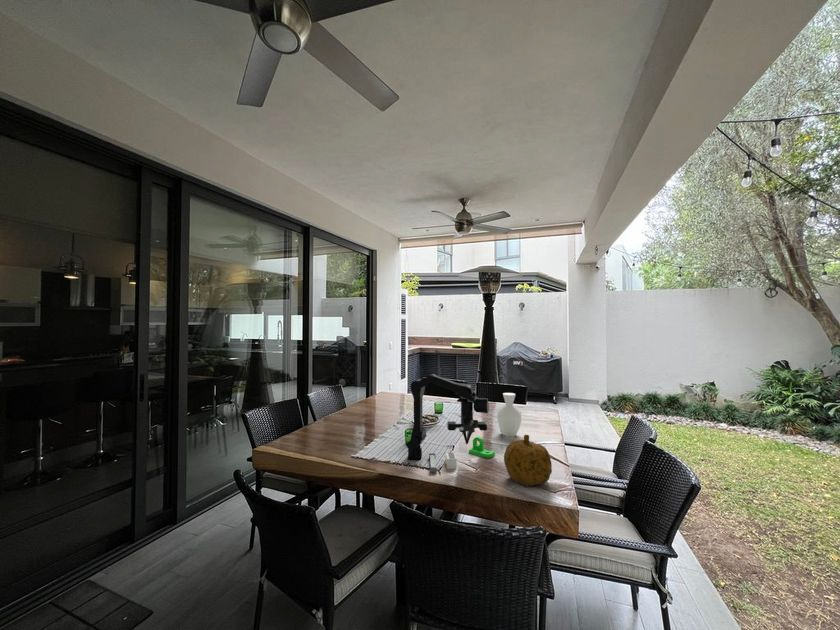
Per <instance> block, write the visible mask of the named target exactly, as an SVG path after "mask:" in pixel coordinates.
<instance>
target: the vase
mask: <svg viewBox="0 0 840 630" xmlns="http://www.w3.org/2000/svg"><path fill="white" fill-rule="evenodd" d="M502 396H503V399H504V403H505V405H504V406H502V407H501V408H499V409H498V410H497V414H496V415H497V423H498V428H499V432H500V433H501V435H502V434H503V436H504V435H505V436H504V437H509V436H511V437H516V436H517V434H518V432H519V430H520V427H521V423H522V412H521V411H520V410H519V409H518V408H516V407H515V405H514V401H515V398H516V393H514V392H503V393H502ZM515 435H516V436H515Z"/></svg>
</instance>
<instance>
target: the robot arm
mask: <svg viewBox="0 0 840 630" xmlns="http://www.w3.org/2000/svg"><path fill="white" fill-rule="evenodd" d="M429 384H434V385H437V386H439V387H442V388H445V389H447V390H450V391H453V392H454V393H455V394H456V395H457V396H459V398H458V399H457V400H456V402H457V403H460V423H456V421H447V424H446V427H447V430H448V431H455V430H456V429H458V431H459V432H460V433H462V435H463V438H464V442H465V445H468V444H469V441H470V438H471V436H472V435H473V433H475V432H476V430H475V429H479V430H480V431H482V432H483V431H488V425H487V423H486V422H485V421H479V420H478V419H474V411H475V413H480V414H481V413H483V414H489V410H490V404H489V399H488V398H487V397H486V398H483V397H482V398H481V397H480V398H479V396H478V394H476V392H475V391H474V390H475V389H474V387H473V385H471V384H468V383H461V382H455V381H452V380H449V379H447V378H445V377H442V376H440V375H436V374H434V373H431V374H429V375H428V376H426V377H424V378H422V379H421V378H419V379H418V378H417V379H416V380H413V381H412V382H411V383H410V393H411V396H412V398H413V428H412V430H411V435H410V440H409V441H407V442H406V444H405V445H406V448H407V461H421V460H422V456H423V455H422V454H423V452H422V450H423V448H422V447H421V446H422V444H423V442H424V441H425V440H426V437H427V428H424V424H423V397H424V394H425V390H426V387H427V386H428V385H429Z"/></svg>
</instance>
